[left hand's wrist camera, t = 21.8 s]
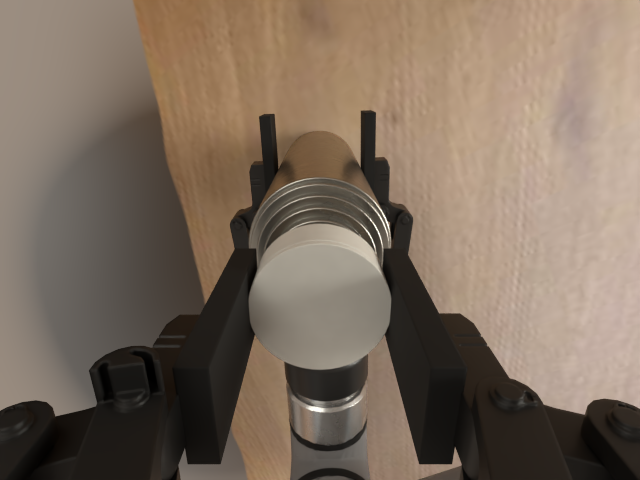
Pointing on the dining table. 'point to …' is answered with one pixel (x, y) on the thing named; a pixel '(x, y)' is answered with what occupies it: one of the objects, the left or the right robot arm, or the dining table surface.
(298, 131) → the dining table surface
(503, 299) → the dining table surface
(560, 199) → the dining table surface
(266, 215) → the bottle
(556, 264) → the dining table surface
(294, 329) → the cap
